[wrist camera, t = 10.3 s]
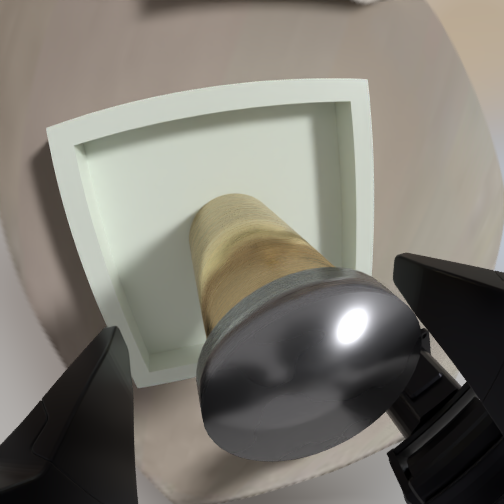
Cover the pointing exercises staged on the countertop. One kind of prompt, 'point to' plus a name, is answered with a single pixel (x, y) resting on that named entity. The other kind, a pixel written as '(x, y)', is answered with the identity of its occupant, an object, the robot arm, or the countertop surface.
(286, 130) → the tray
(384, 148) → the countertop surface
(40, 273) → the countertop surface
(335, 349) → the spice jar
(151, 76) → the countertop surface
